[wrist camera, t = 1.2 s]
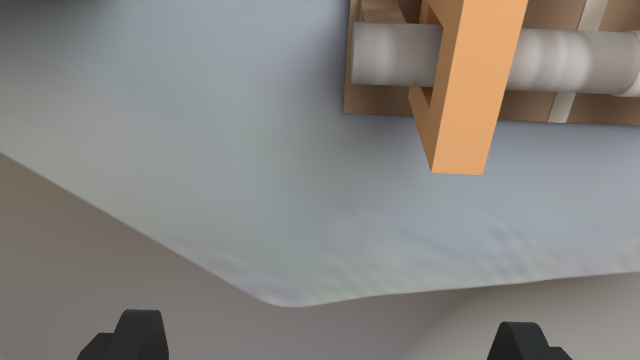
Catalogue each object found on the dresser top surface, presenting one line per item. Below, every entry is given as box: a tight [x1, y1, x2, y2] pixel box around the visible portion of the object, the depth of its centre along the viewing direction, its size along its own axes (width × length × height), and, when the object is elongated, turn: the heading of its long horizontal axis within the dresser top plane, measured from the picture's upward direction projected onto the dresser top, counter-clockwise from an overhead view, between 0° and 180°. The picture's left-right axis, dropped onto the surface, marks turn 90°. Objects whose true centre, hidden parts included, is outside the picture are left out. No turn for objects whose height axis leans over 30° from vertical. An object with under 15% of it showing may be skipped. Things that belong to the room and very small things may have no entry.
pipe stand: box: [343, 0, 640, 125], centre depth 26 cm, size 22×12×9 cm, turn 88°
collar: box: [408, 0, 528, 175], centre depth 24 cm, size 2×8×8 cm, turn 178°
